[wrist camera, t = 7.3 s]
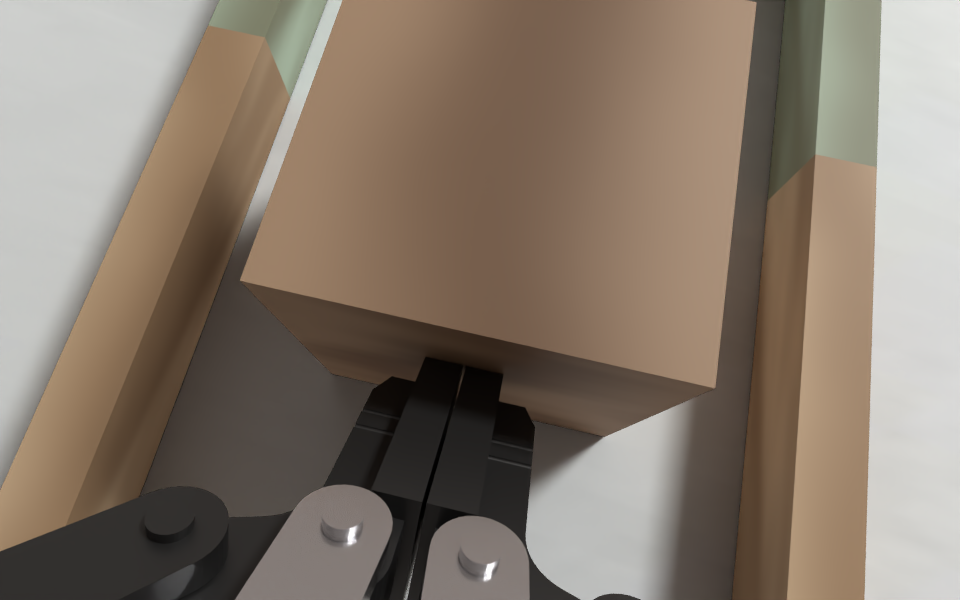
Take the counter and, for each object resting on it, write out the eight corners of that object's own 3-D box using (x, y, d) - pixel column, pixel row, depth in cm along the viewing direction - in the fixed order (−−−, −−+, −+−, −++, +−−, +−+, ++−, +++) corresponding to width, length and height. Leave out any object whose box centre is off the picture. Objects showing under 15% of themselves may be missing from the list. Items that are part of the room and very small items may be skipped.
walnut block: (331, 373, 16) (239, 280, 9) (403, 138, 18) (370, -77, 11) (604, 436, 16) (715, 388, 9) (643, 190, 18) (756, 1, 11)
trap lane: (-84, 874, 12) (-212, 963, 10) (344, -164, 21) (329, -247, 19) (767, 1102, 12) (845, 1254, 9) (836, -66, 21) (885, -139, 18)
